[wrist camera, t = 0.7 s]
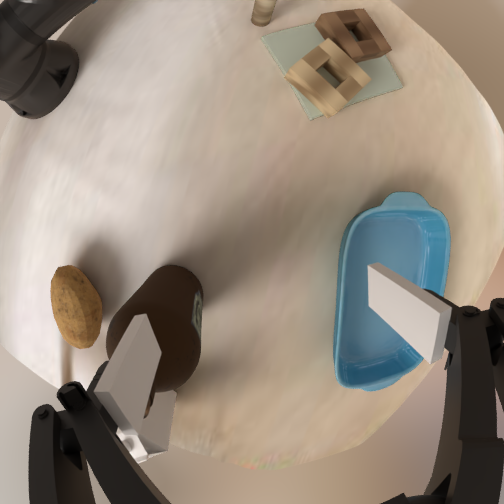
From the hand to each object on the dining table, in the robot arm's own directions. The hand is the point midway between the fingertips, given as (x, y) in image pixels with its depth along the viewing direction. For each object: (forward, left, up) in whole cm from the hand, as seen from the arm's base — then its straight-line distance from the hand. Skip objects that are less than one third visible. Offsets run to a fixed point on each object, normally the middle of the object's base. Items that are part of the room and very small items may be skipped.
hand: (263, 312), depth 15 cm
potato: (-3, -29, -27) cm, 39 cm away
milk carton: (+19, -30, -27) cm, 44 cm away
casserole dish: (+22, +17, -27) cm, 39 cm away
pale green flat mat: (-18, +27, -26) cm, 42 cm away
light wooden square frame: (-15, +22, -25) cm, 37 cm away
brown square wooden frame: (-21, +31, -25) cm, 45 cm away
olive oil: (+4, -14, -27) cm, 30 cm away
